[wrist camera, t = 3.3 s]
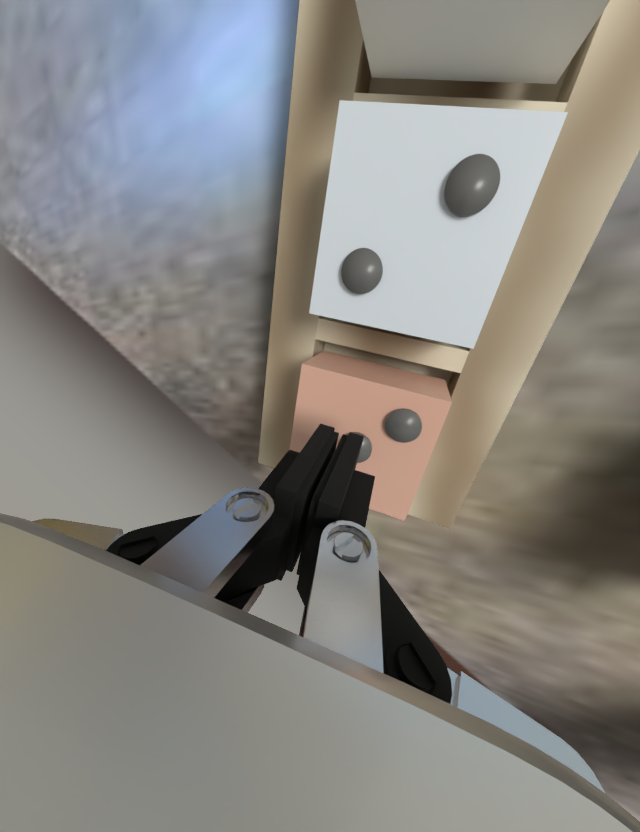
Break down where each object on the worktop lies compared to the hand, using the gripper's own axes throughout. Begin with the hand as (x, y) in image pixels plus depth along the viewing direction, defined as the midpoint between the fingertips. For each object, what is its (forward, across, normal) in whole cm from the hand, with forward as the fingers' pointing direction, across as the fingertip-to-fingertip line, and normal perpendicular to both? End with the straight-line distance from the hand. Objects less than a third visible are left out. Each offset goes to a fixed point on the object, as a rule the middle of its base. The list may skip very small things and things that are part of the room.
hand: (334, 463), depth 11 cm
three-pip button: (+5, -1, 0) cm, 5 cm away
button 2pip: (+5, -1, -8) cm, 9 cm away
